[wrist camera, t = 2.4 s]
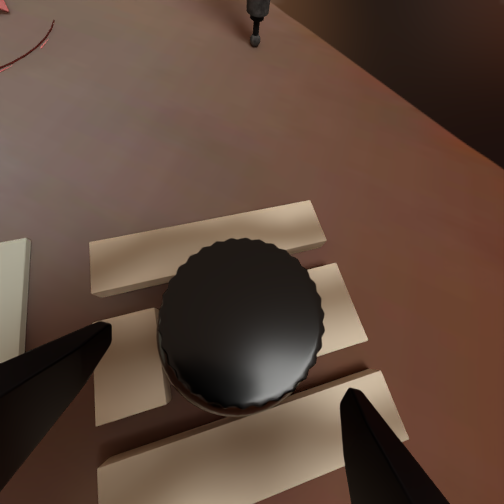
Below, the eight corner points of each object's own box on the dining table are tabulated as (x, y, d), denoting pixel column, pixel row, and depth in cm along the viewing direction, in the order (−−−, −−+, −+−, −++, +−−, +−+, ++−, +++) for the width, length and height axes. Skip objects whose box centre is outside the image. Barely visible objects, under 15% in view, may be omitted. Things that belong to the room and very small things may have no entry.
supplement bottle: (168, 357, 17) (51, 375, 6) (215, 273, 19) (196, 174, 8) (256, 403, 16) (315, 524, 5) (293, 311, 19) (384, 259, 8)
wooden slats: (393, 431, 16) (409, 439, 15) (114, 543, 13) (100, 566, 12) (305, 209, 22) (309, 200, 21) (99, 249, 19) (89, 242, 18)
